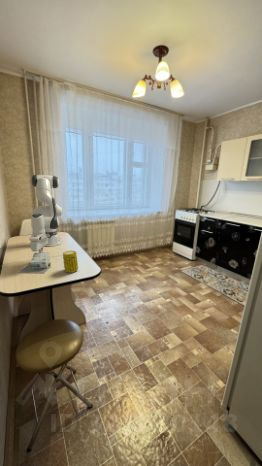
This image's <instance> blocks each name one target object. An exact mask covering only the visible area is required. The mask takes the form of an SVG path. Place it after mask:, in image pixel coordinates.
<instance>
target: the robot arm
mask: <svg viewBox="0 0 262 466" xmlns="http://www.w3.org/2000/svg"><path fill="white" fill-rule="evenodd" d="M30 182H31V185H32V186H33V187H35V197H36V199H37V200H38V201H39V202H41V203H42V204H45V205H42V206H41V205H40V206H36V207H35V208H33V214H32V215H31V218H30V225H31V229H32V231H31V236H30V237H29V239H28V240H29V242H30V244H29V245H30V249H31V250H30V251H31V252H34V253H37V252H38V253H42V252H44V247H56V246H61V245H62V244H63V241H64V240H63V239H61V235H59V234H58V232H59V230H58V228H59V227H60V219H59V217H60V216H63V208H62V207H61V206H60V205H59V204H57V202H56V200H55V190H54V189H58V187H59V185H60V179H59V178H58V176H55V175H49V174H33V175H32V176H31V178H30ZM46 205H47V206H46Z"/></svg>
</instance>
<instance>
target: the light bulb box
mask: <svg viewBox="0 0 262 466" xmlns="http://www.w3.org/2000/svg"><path fill="white" fill-rule="evenodd" d="M50 260H51V256H50V252H49V251H47V252H44V251H43V252H42V253H39V252H34V253H33V255H32V258H31V260H30V263H31V266H32V269H37V268H47V267H48V264H49V263H50Z"/></svg>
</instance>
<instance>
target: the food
mask: <svg viewBox="0 0 262 466" xmlns="http://www.w3.org/2000/svg"><path fill="white" fill-rule="evenodd" d="M62 260H63V267H64V271H65V273H69V274H70V273H75V272H77V271H78V270H79V263H78V255H77V251H76V250H66V251H63V252H62Z"/></svg>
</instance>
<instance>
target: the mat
mask: <svg viewBox="0 0 262 466" xmlns="http://www.w3.org/2000/svg"><path fill="white" fill-rule="evenodd" d="M51 267H52V265H51V266H48V267H47V268H37V269H32V266H31V265H29V264H28V265H26V266H24V267H23V268H22V269H21V270H20V271H18V272H17V273H18V274H45V273H46V272H47V271H49V269H50V268H51Z"/></svg>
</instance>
